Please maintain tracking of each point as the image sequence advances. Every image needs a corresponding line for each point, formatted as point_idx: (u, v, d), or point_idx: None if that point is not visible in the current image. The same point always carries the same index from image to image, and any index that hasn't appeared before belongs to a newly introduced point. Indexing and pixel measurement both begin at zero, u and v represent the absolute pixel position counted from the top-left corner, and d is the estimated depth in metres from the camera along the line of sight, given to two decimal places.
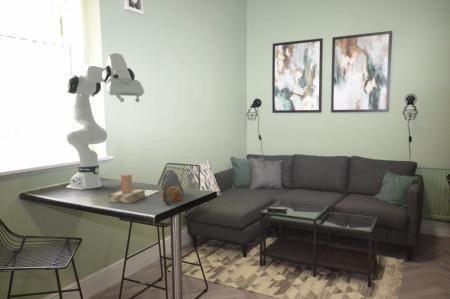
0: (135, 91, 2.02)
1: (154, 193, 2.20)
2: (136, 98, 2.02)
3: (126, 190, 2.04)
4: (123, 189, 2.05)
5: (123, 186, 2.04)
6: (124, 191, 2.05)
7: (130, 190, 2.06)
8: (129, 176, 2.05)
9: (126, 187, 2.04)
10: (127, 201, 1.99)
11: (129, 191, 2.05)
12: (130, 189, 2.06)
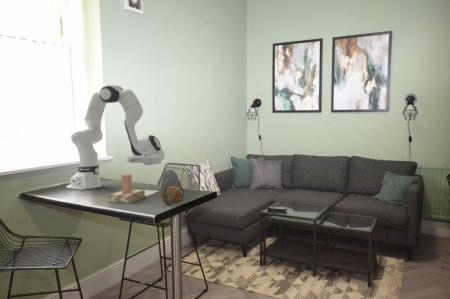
0: (135, 162, 2.23)
1: (154, 193, 2.20)
2: (132, 161, 2.19)
3: (126, 190, 2.04)
4: (123, 189, 2.05)
5: (123, 186, 2.04)
6: (124, 191, 2.05)
7: (130, 190, 2.06)
8: (129, 176, 2.05)
9: (126, 187, 2.04)
10: (127, 201, 1.99)
11: (129, 191, 2.05)
12: (130, 189, 2.06)
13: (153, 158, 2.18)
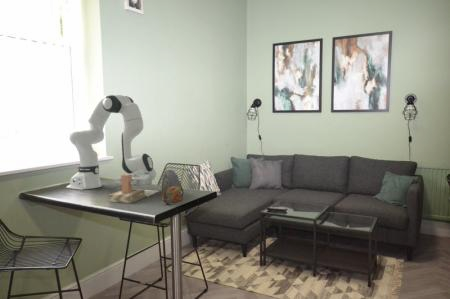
0: None
1: (154, 193, 2.20)
2: None
3: (126, 190, 2.04)
4: (123, 189, 2.05)
5: (123, 186, 2.04)
6: (124, 191, 2.05)
7: (130, 190, 2.06)
8: (129, 176, 2.05)
9: (126, 187, 2.04)
10: (127, 201, 1.99)
11: (129, 191, 2.05)
12: (130, 189, 2.06)
13: (143, 180, 2.07)
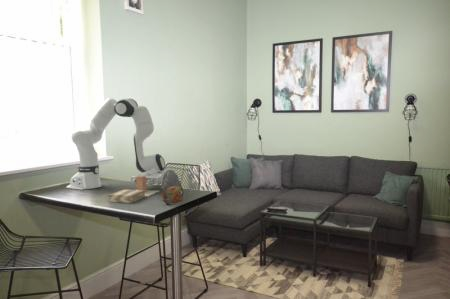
0: None
1: (154, 193, 2.20)
2: (136, 181, 2.23)
3: None
4: (138, 189, 2.20)
5: (138, 187, 2.20)
6: None
7: None
8: (144, 177, 2.21)
9: (141, 187, 2.20)
10: (127, 201, 1.99)
11: None
12: (144, 189, 2.21)
13: (156, 178, 2.22)
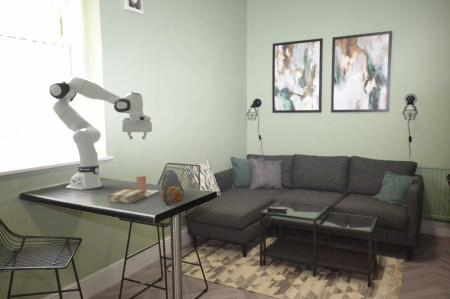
0: None
1: (154, 193, 2.20)
2: (132, 136, 2.41)
3: None
4: (138, 189, 2.20)
5: (138, 187, 2.20)
6: None
7: None
8: (144, 177, 2.21)
9: (141, 187, 2.20)
10: (127, 201, 1.99)
11: None
12: (144, 189, 2.21)
13: None
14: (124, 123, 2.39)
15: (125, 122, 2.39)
